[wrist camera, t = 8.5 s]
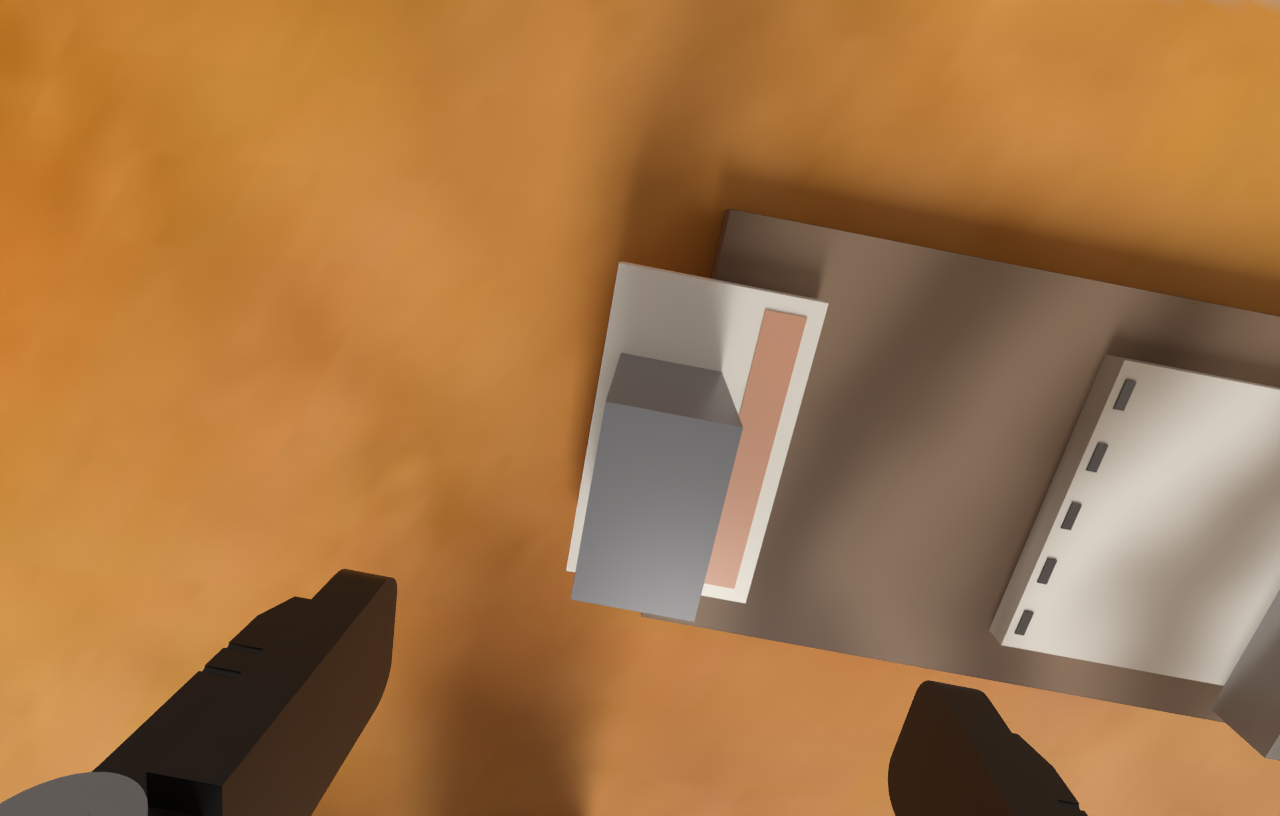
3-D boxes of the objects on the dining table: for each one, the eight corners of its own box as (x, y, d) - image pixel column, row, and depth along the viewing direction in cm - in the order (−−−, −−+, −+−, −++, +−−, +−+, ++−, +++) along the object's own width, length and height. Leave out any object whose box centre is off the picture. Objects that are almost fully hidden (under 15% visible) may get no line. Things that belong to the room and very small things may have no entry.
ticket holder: (1522, 366, 20) (1750, 405, 16) (1302, 712, 24) (1436, 815, 20) (725, 209, 19) (742, 207, 15) (642, 592, 23) (638, 672, 19)
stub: (821, 299, 18) (891, 336, 12) (742, 589, 21) (771, 722, 15) (620, 261, 18) (601, 279, 12) (569, 557, 21) (536, 680, 15)
